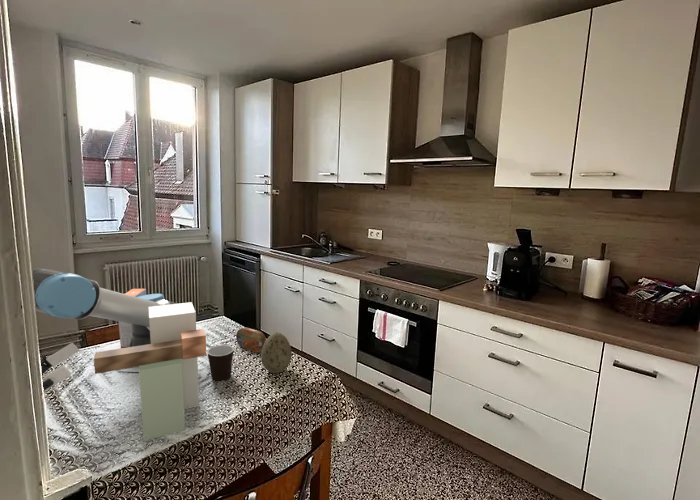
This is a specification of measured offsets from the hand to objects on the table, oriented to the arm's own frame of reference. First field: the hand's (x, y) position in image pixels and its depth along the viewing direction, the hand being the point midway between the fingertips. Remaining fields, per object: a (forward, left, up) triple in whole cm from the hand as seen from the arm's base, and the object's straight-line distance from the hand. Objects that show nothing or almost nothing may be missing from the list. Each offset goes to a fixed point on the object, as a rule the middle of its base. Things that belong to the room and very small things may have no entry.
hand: (72, 357), depth 93 cm
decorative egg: (-43, +41, -25) cm, 64 cm away
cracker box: (-63, -23, -25) cm, 71 cm away
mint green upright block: (-10, +17, -24) cm, 31 cm away
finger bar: (-9, +15, -4) cm, 18 cm away
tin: (-60, +27, -25) cm, 70 cm away
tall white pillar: (-21, +15, -24) cm, 35 cm away
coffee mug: (-39, +23, -25) cm, 51 cm away
